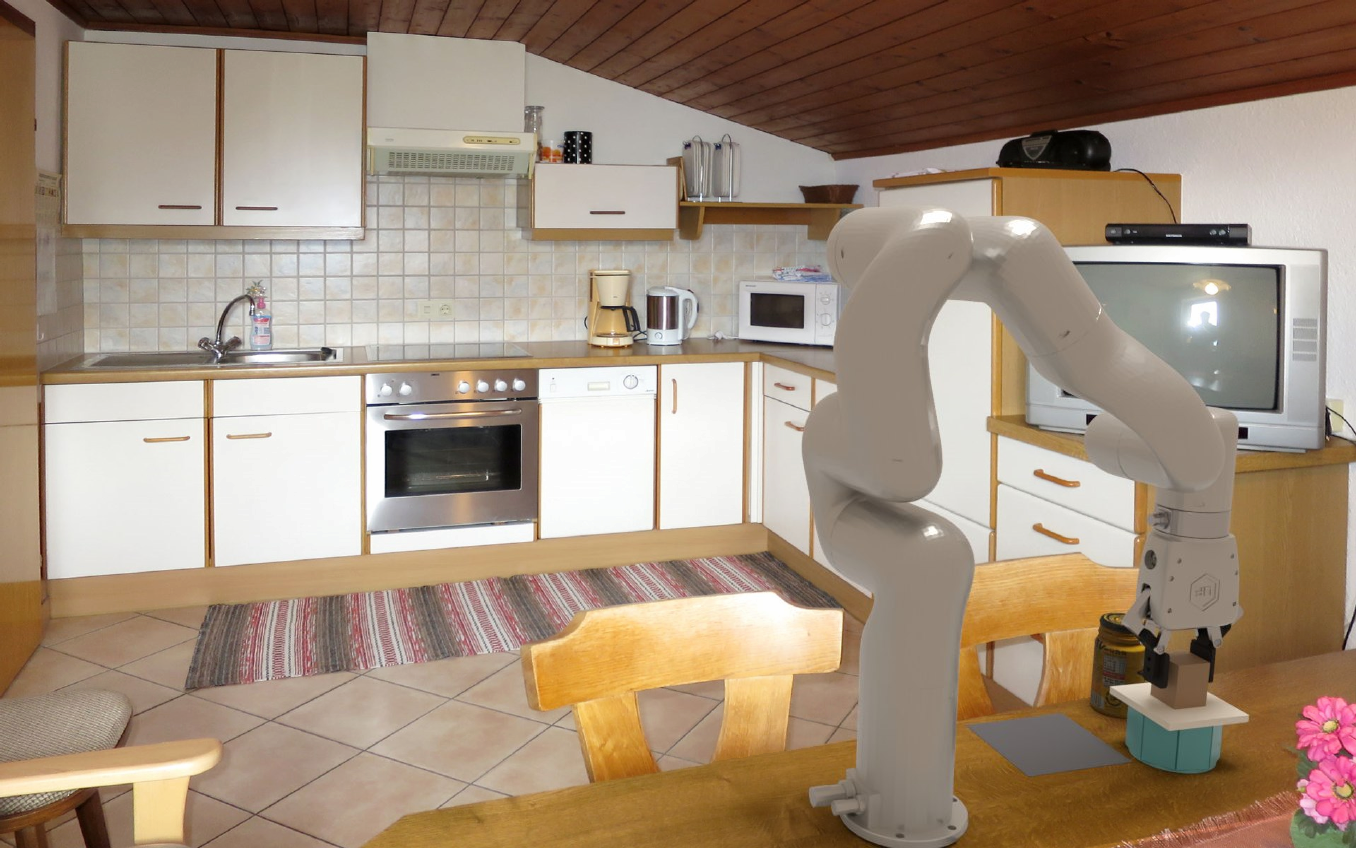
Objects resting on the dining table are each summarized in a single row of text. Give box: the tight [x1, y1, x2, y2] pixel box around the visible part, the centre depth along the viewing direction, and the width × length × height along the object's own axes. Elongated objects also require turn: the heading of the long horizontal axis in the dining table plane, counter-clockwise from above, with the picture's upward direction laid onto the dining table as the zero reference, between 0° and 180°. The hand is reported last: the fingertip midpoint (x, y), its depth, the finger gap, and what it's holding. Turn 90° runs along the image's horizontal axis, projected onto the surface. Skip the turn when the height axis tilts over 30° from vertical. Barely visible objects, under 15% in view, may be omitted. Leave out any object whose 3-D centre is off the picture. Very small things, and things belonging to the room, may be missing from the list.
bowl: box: [1125, 705, 1224, 774], centre depth 123 cm, size 9×9×6 cm
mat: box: [965, 712, 1133, 778], centre depth 126 cm, size 13×13×1 cm
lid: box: [1110, 649, 1250, 731], centre depth 122 cm, size 10×10×6 cm
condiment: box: [1089, 612, 1146, 719], centre depth 134 cm, size 7×8×12 cm
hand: (1177, 679), depth 122 cm, fingers open, 5 cm apart
